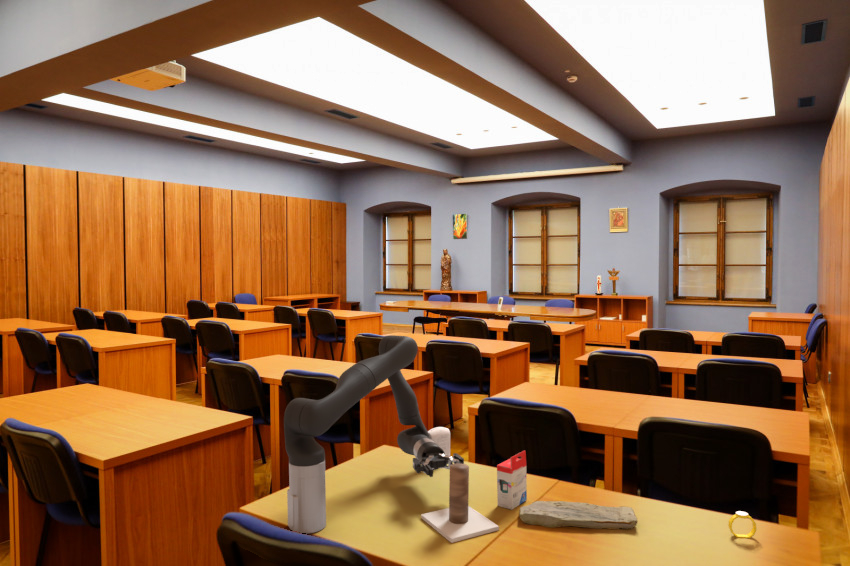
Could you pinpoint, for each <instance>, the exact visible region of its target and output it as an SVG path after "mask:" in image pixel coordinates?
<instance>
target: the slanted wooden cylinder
mask: <svg viewBox="0 0 850 566" xmlns="http://www.w3.org/2000/svg"><path fill="white" fill-rule="evenodd" d="M469 473H470V467H469V465H468V464H465V463H464V464H461V463H456V464H454V463H453V464H452V465H450V469H449V485H448V486H449V489H448V490H449V492H448V493H449V495H448V496H449V497H448V498H449V500H448V501H449V503H448V508H449V521H450V522H452V523H455V524H464V523H467V522H468V506H469V493H470V492H469V491H470V490H469V487H470V485H469V484H470V482H469V481H470V477H469V476H470V474H469Z"/></svg>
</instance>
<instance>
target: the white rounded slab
mask: <svg viewBox="0 0 850 566" xmlns="http://www.w3.org/2000/svg"><path fill="white" fill-rule="evenodd" d="M427 431H428V433H429V437H430V440H432V441H434V442H435V443H436V444H437V445H438V446H439V447H441V448H442V450H443V451H444V453H445V455H448V456H451V431H450V429H449V428H447V427H444V426H436V427H433V428H431V429H429V430H427Z"/></svg>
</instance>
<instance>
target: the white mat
mask: <svg viewBox="0 0 850 566" xmlns="http://www.w3.org/2000/svg"><path fill="white" fill-rule="evenodd" d="M420 519H422V520H423V521H424V522H425V523H426V524H427V525H429V526H430V527H432V528H433V529H434V530H435V531H436V532H437V533H438V534H440V535H441V536H442V537H443V538H444V539H446V540H447V541H448V542H449V543H451V544H452V543H456V542H457V543H458V542H460V541H464V540H468V539H471V538H475V537H479V536H482V535H486V534H489V533H493V532H497V531H499V530H500V527H499V525H498V524H497V523H495V522H494V521H492V520H490V519H489V518H487V517H486V516H485V515H483V514H482V513H480V512H479V511H477V510H475V509H474V508H472V507H471V505H470V506H469V505H468V522H467V523H464V524H455V523H452V522H450V521H449V507H446V508H442V509H438V510H434V511H429V512H426V513H421V514H420Z"/></svg>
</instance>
